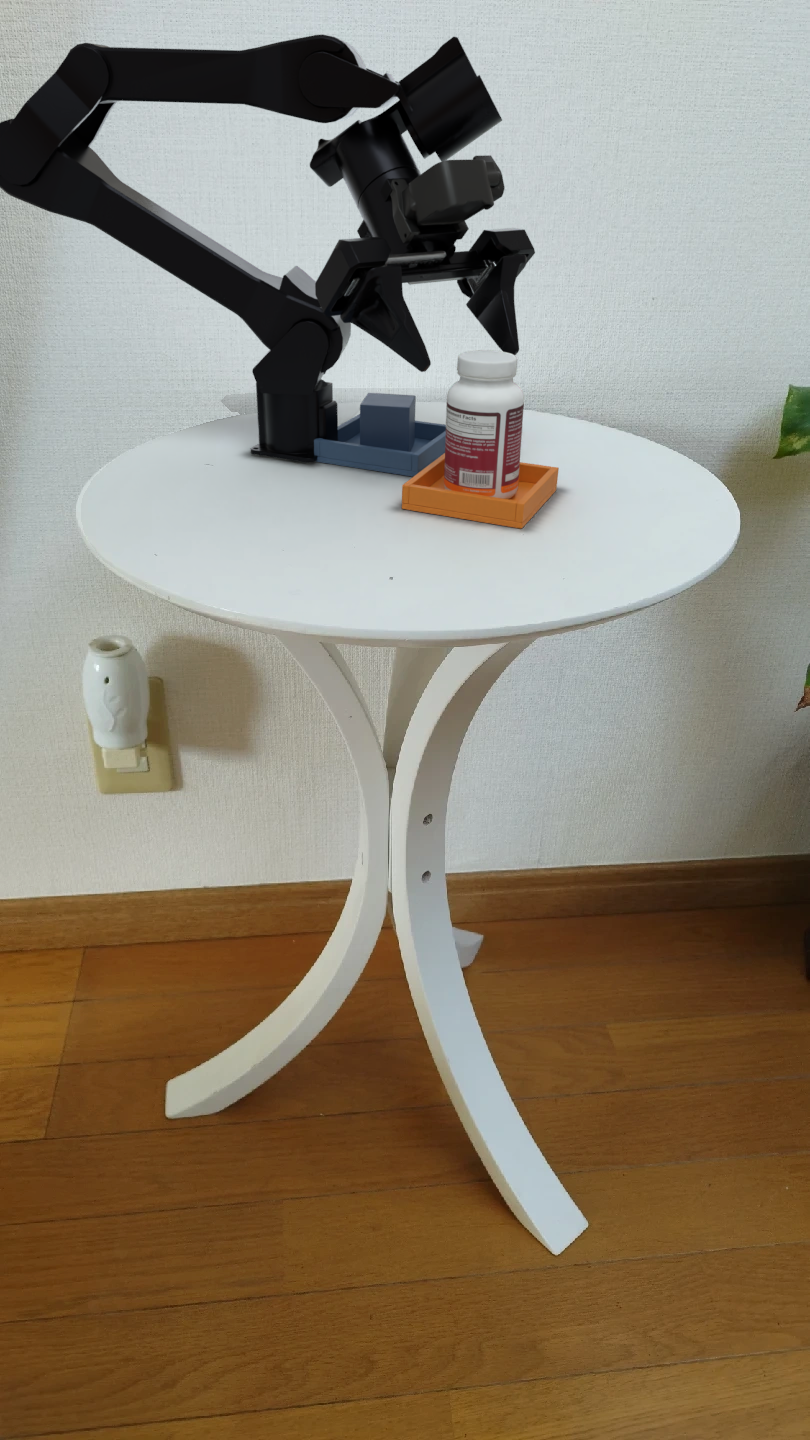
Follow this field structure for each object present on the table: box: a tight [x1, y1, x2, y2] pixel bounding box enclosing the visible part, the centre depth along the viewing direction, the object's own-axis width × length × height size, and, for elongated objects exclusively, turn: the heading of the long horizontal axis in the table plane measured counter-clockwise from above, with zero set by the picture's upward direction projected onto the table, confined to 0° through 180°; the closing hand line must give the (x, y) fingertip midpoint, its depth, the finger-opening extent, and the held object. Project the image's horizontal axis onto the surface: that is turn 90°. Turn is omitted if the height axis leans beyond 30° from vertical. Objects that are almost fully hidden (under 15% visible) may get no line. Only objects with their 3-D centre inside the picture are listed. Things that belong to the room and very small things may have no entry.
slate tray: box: [314, 413, 446, 478], centre depth 94 cm, size 10×10×2 cm
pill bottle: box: [444, 349, 525, 499], centre depth 82 cm, size 6×6×11 cm
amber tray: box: [401, 453, 559, 529], centre depth 84 cm, size 10×10×2 cm
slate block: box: [359, 392, 417, 452], centre depth 94 cm, size 4×4×4 cm
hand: (471, 361), depth 80 cm, fingers open, 9 cm apart
